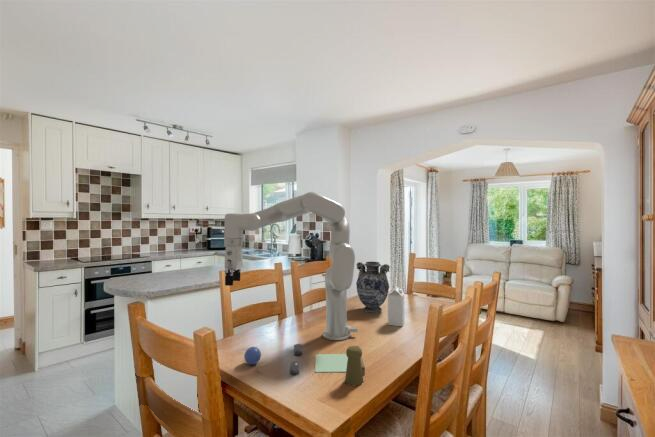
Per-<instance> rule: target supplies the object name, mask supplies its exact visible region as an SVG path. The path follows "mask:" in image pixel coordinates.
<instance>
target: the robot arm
mask: <svg viewBox="0 0 655 437" xmlns="http://www.w3.org/2000/svg"><path fill="white" fill-rule="evenodd" d="M310 213H312V214H314V215H316V216H318V217H321V218H323V220H324V221H325V222H327V224H328V225H329V226H330V242H329V243H330V244H329V250H328V256H329V259H330V260H331V261H332V265H331V266H329V267H328V268H327V269H326V271H325V274H324V285H325V329H324V330H323V332H322V337H323V338H324V339H327V340H329V341H330V340H331V341H343V340H348V339H349V338H350V337H351V333H358V327H355V326H350V325H348V305H347V304H348V295H347V294H348V293H347V290H349V289H350V288H351V286H352V284H353V280H354V271H355V261H356V257H355V256H356V254H355V250H354V249H353V247H352V246H351V245H350V232H351V231H350V224H349V220H348V219H347V217H346V210H345V208H344V206H343V205H342V204H340V203H339V202H337V201H335V200H332V199H330V198H328V197H326V196H324V195H322V194H319V193H316V192H313V191H309V192H306V193H304V194H302V195H298V196H294V197H291V198H289V199H286V200H283V201H279V202H277V203H275V204H273V205H272V206H270V207H268V208H267V207H266V208H264V209H262V210H258V211H255V212H252V213H251V212H250V213H243V214H241V213H226V214H225V215H224V225H223V226H224V229H223V230H224V232H223V233H224V235H223V236H224V237H223V241H224V242H223V243H224V244H223V247H225V253H224V285H225V286H229V287H231V286H233V285H234V282H240V281H241V271H242V270H241V269H242V268H243V267H244V266H243V244H244V242H243V241H244V237H243V236H244V231H250V232H255V231H258V230H259V229H262V228H263V227H264V228H265V227H267V226H270V225H273V224H278V223H284V222H287V221H289V220H292V219H294V218H297V217H301V216H304V215H306V214H310Z"/></svg>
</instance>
